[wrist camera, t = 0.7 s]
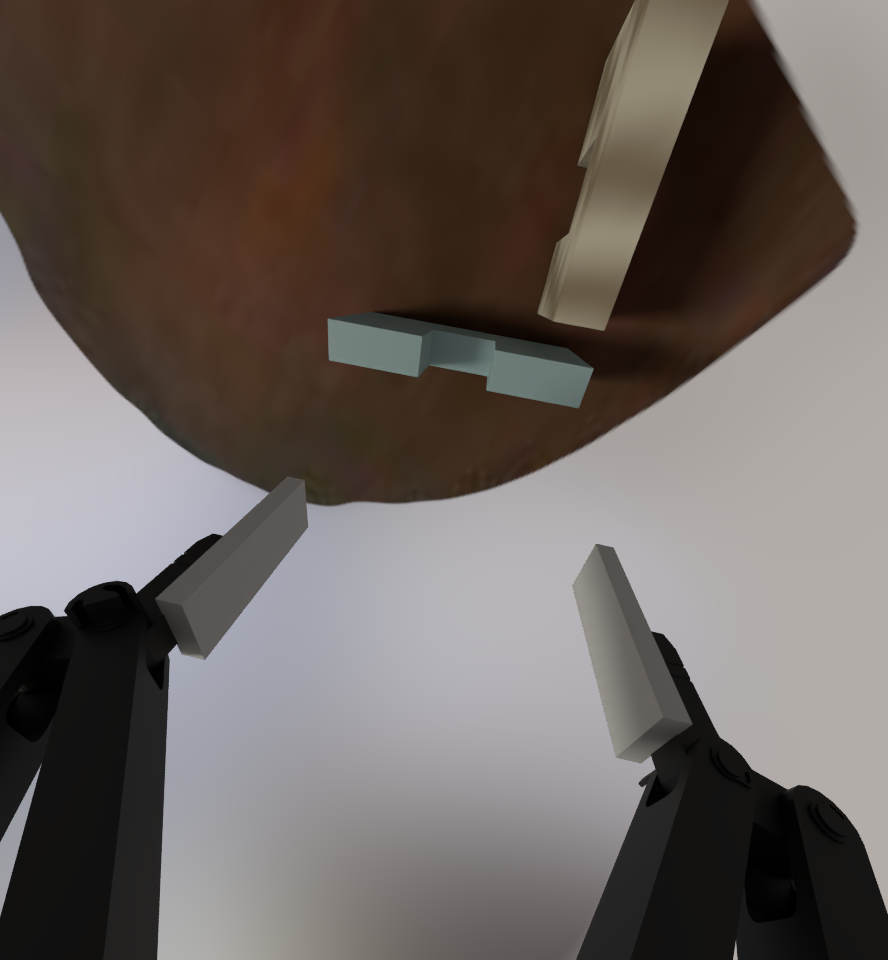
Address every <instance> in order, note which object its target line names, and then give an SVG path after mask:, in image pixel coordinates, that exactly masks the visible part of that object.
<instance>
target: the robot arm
mask: <svg viewBox="0 0 888 960" xmlns="http://www.w3.org/2000/svg"><path fill="white" fill-rule="evenodd" d="M307 528H308V520H307V509H306V494H305V482H304V480H301V479H297V478H292V477H287V478H286V479H285V480H284V481H282V482H281V483H280V484H279V485H278V486H277V487H276V488H275V489H274V490H273V491H272V492H271V493H269V494H268V495H267V496H266V497H265V498H264V499H263V500H262V501H261V502H260V503H259V504H257V505H256V506H255V507H254V508H253V509H252V510H251V511H250V512H249V513H248V514H247V515H246V516H244V517H243V518H242V519H241V520H240V521H239V522H238V523H237V524H236V525H235V526H234V527H233V528H231V529H230V530H229V531H228V532H227V533H226V534H225V535H224V536H221V535H217V534H211V535H209V536H207V537H205V538H203V539H201V540H199V541H197V542H196V543H195V544H194V545H192V546H191V547H190V548H189V549H188V550H187V551H185V552H184V555H181V556H180V557H178V558H177V559H176V560H175V561H174V563H173V564H170V565H169V566H168V567H167V568H166V569H165V570H163V571H162V572H161V573H160V574H159V575H157V576H156V577H155V578H154V579H153V580H152V581H150V583H148V584H147V585H146V586H145V587H144V588H142V589H141V590H140V591H139V592H138V593H136V592H135V591H134V589H133V587H132V586H131V585H130V584H128V583H127V582H121V581H113V582H106V583H102V584H99V585H96V586H93V587H91V588H89V589H87V590H85V591H83V592H82V593H80V594H78V595H77V596H76V597H75V598H74V599H72V600H71V601H70V602H69V603H68V605H67V606H66V608H65V610H64V611H65V613H66V614H67V616H63V617H55V616H54V615H53V614H52V612H51V611H50V610H49V609H48V608H45V607H43V606H29V607H24V608H20V609H16V610H13V611H11V612H8V613H6V614H3V615H1V616H0V841H1V840H2V838H3V836H4V834H5V832H6V830H7V828H8V826H9V824H10V822H11V821H12V819H13V817H14V815H15V813H16V811H17V809H18V807H19V805H20V803H21V802H22V800H23V797H24V796H25V794H26V792H27V790H28V788H29V786H30V784H31V783H32V781H33V779H34V777H35V775H36V773H37V771H38V769H39V767H40V765H41V764H42V765H41V768H40V772H39V776H38V779H37V783H36V787H35V791H34V795H33V798H32V802H31V805H30V809H29V813H28V817H27V820H26V824H25V828H24V831H23V835H22V839H21V842H20V846H19V850H18V854H17V857H16V861H15V864H14V868H13V872H12V876H11V879H10V883H9V887H8V890H7V894H6V898H5V902H4V905H3V909H2V912H1V916H0V960H157V948H158V924H159V923H158V922H159V900H160V899H159V898H160V877H161V875H160V874H161V852H162V829H163V804H164V781H165V756H166V734H167V732H166V731H167V710H168V686H169V685H168V684H169V662H170V660H169V656H168V653H169V652H170V651H171V650H172V649H173V648H174V646H175V645H176V644H177V645H178V647H179V649H180V652H181V654H183V655H187V656H191V657H195V658H200V659H204V660H205V659H206V658H207V656H208V655H209V654H210V653H211V651H212V650H213V649H214V647H215V646H216V645H217V643H218V642H219V641H220V640H221V638H222V637H223V636H224V634H225V633H226V632H227V630H228V629H229V628H230V627H231V625H232V624H233V623H234V621H235V620H236V619H237V617H238V616H239V615H240V614H241V613H242V611H243V610H244V609H245V607H246V606H247V605H248V603H249V602H250V601H251V600H252V598H253V597H254V596H255V595H256V593H257V592H258V591H259V589H260V588H261V586H263V584H264V583H265V581H266V580H267V579H268V578H269V577H270V575H271V574H272V573H273V571H274V570H275V569H276V567H277V566H278V565H279V564H280V562H281V561H282V560H283V558H284V557H285V556H286V555H287V553H288V552H289V551H290V549H291V548H292V547H293V546H294V544H295V543H296V542H297V540H298V539H299V538H300V537H301V535H302V534H303V533H304V531H305V530H306V529H307ZM572 586H573V590H574V594H575V598H576V602H577V606H578V610H579V614H580V618H581V622H582V626H583V630H584V634H585V638H586V642H587V645H588V649H589V653H590V657H591V661H592V665H593V669H594V673H595V677H596V681H597V685H598V689H599V693H600V697H601V700H602V705H603V709H604V712H605V716H606V720H607V724H608V728H609V732H610V736H611V740H612V744H613V748H614V752H615V755H616V757H617V758H620V759H624V760H629V761H633V762H637V763H642V762H643V761H645V760H646V759H647V758H648V757H650V756H651V757H652V760H653V762H654V766H655V770H654V771H653V772H651V773H650V774H648V775H647V776H645V777H644V778H643V779H642V780H641V781H640V782H639V785H640V786H641V787H643V786H644V785H646V784H647V785H646V788H645V790H644V793H643V795H642V798H641V800H640V803H639V805H638V808H637V810H636V813H635V815H634V817H633V820H632V822H631V825H630V827H629V830H628V832H627V835H626V837H625V840H624V842H623V845H622V848H621V850H620V852H619V855H618V857H617V860H616V862H615V865H614V867H613V870H612V872H611V875H610V877H609V879H608V882H607V884H606V887H605V889H604V892H603V894H602V897H601V899H600V902H599V904H598V907H597V909H596V912H595V914H594V917H593V919H592V922H591V924H590V927H589V929H588V931H587V934H586V936H585V939H584V941H583V944H582V946H581V949H580V951H579V954H578V956H577V959H576V960H733V956H734V949H735V942H736V944H737V957H738V960H888V914H887V911H886V908H885V905H884V902H883V899H882V896H881V893H880V890H879V887H878V884H877V881H876V878H875V875H874V872H873V870H872V867H871V864H870V861H869V858H868V855H867V852H866V849H865V846H864V844H863V842H862V840H861V838H860V836H859V834H858V832H857V830H856V829H855V827H854V826H853V825H852V823H851V822H850V821H849V819H848V818H847V816H846V815H845V814H844V813H843V812H842V811H841V810H840V809H839V808H838V807H837V806H836V805H835V804H834V803H833V802H832V801H831V800H829V799H828V798H826V797H825V796H824V795H823V794H821V793H820V792H819V791H816V790H815V789H812V788H810V787H808V786H802V785H798V786H796V787H793V788H791V789H789V790H787V789H785V788H783V787H782V786H780V785H778V784H777V783H775V782H773V781H771V780H769V779H768V778H766V777H764V776H762V775H760V774H759V773H757V772H755V771H754V770H752V769H751V768H750V766H749V765H748V763H747V762H746V761H745V759H744V758H743V757H742V755H741V754H740V753H739V752H738V751H737V750H736V749H735V748H734V747H733V746H732V745H730V744H729V743H727V742H726V741H724V740H723V739H721V738H720V737H719V735H718V734H717V732H716V730H715V728H714V726H713V724H712V722H711V720H710V718H709V716H708V714H707V712H706V710H705V708H704V706H703V704H702V701H701V700H700V698H699V695H698V693H697V691H696V689H695V687H694V685H693V683H692V682H690V677H689V675H688V673H687V671H686V669H685V668H684V667H683V666H684V665H683V663H682V661H681V659H680V657H679V655H678V653H677V651H676V649H675V648H674V647H673V645H672V644H671V643H670V642H669V641H668V640H667V638H666V637H665V636H664V635H663V634H660V633H656V632H651V630H650V628H649V626H648V624H647V621H646V619H645V617H644V615H643V612H642V610H641V608H640V606H639V603H638V601H637V599H636V597H635V595H634V592H633V590H632V588H631V586H630V583H629V581H628V579H627V577H626V574H625V572H624V570H623V568H622V566H621V563H620V561H619V559H618V557H617V554H616V552H615V550H614V548H613V547H608V546H604V545H599V544H596V545H595V546H594V548H593V550H592V552H591V554H590V555H589V557H588V559H587V561H586V562H585V564H584V566H583V568H582V569H581V571H580V573H579V575H578V576H577V578H576V580H575V582H574V584H573V585H572Z"/></svg>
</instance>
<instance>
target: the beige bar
mask: <svg viewBox="0 0 888 960" xmlns="http://www.w3.org/2000/svg"><path fill="white" fill-rule="evenodd" d="M728 1H729V0H635V2H634V4H633V6H632V8H631V10H630V12H629V14H628V16H627V18H626V20H625V22H624V25H623V27H622V29H621V31H620V33H619V35H618V37H617V39H616V41H615V43H614V45H613V47H612V49H611V52H610V54H609V56H608V58H607V60H606V63H605V66H604V70H603V74H602V78H601V81H600V85H599V89H598V92H597V96H596V100H595V103H594V107H593V111H592V114H591V118H590V122H589V125H588V129H587V133H586V136H585V140H584V144H583V147H582V151H581V155H580V158H579V162H578V166H580V167H587V172H586V175H585V179H584V182H583V186H582V189H581V193H580V196H579V200H578V203H577V207H576V210H575V214H574V217H573V221H572V224H571V228H570V231H569V234H567V235H566V236H565V237H564V238H562V239H561V240H560V241H559V242H557V243H556V247H555V250H554V254H553V258H552V262H551V265H550V269H549V273H548V276H547V280H546V284H545V287H544V291H543V295H542V298H541V302H540V306H539V309H538V313H537V314H540V315H542V316H544V317H546V318H548V319H550V320H552V321H554V322H559V323H565V324H570V325H576V326H581V327H587V328H592V329H598V330H603V331H604V330H605V328H606V325H607V322H608V320H609V317H610V314H611V312H612V309H613V306H614V304H615V301H616V298H617V296H618V293H619V290H620V288H621V285H622V282H623V280H624V277H625V275H626V272H627V269H628V267H629V264H630V261H631V259H632V256H633V253H634V251H635V248H636V245H637V243H638V240H639V237H640V235H641V232H642V229H643V227H644V224H645V221H646V219H647V216H648V214H649V211H650V208H651V206H652V203H653V200H654V198H655V195H656V192H657V190H658V187H659V184H660V182H661V179H662V176H663V174H664V171H665V168H666V166H667V163H668V160H669V158H670V155H671V152H672V150H673V147H674V145H675V142H676V139H677V137H678V134H679V131H680V129H681V126H682V123H683V121H684V118H685V115H686V113H687V110H688V107H689V105H690V102H691V99H692V97H693V94H694V91H695V89H696V86H697V84H698V81H699V78H700V76H701V73H702V70H703V68H704V65H705V62H706V60H707V57H708V54H709V52H710V49H711V46H712V44H713V41H714V38H715V36H716V33H717V30H718V28H719V25H720V22H721V20H722V17H723V15H724V12H725V9H726V7H727V4H728Z"/></svg>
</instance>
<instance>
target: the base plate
mask: <svg viewBox="0 0 888 960" xmlns="http://www.w3.org/2000/svg"><path fill="white" fill-rule="evenodd" d="M328 342H329V360H331V361H336V362H342V363H347V364H352V365H357V366H362V367H368V368H373V369H378V370H383V371H388V372H393V373H399V374H404V375H409V376H414V377H418V376H419V375H420V374H421V373H422V372H423V371H424V370H425V369H426V368H427V367H428V365H431V366H437V367H442V368H447V369H452V370H458V371H463V372H468V373H473V374H479V375H484V376H488V378H487V389H486V390H487V391H492V392H497V393H502V394H508V395H513V396H518V397H523V398H528V399H533V400H539V401H544V402H549V403H554V404H559V405H565V406H570V407H575V408H579V406H580V403H581V401H582V398H583V395H584V393H585V390H586V388H587V385H588V382H589V380H590V377H591V374H592V372H593V369H594V368H592V367H591V366H590V365H588V364H587V363H586V362H584V361H583V360H582V359H581V358H579V357H578V356H577V355H575V354H574V353H573V352H571V351H570V350H569V349H568V348H563V347H558V346H552V345H547V344H542V343H536V342H531V341H526V340H520V339H515V338H509V337H504V336H499V335H493V334H488V333H483V332H477V331H472V330H466V329H461V328H456V327H450V326H445V325H440V324H434V323H429V322H423V321H418V320H413V319H407V318H402V317H397V316H391V315H386V314H380V313H375V312H367V313H361V314H354V315H348V316H342V317H335V318H329V319H328Z"/></svg>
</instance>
